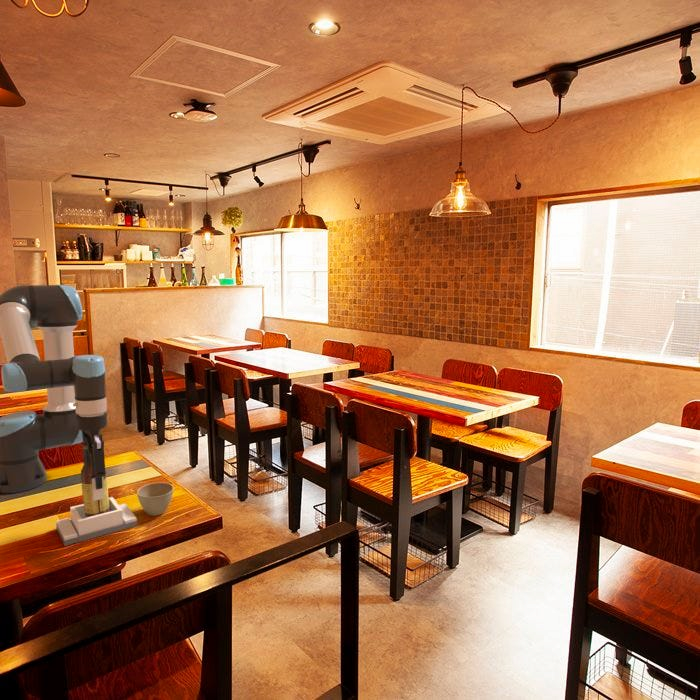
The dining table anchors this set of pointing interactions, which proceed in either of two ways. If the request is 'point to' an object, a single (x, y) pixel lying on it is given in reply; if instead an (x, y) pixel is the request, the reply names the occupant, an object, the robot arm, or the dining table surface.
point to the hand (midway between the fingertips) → (95, 494)
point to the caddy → (94, 523)
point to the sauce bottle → (90, 505)
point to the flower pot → (155, 497)
